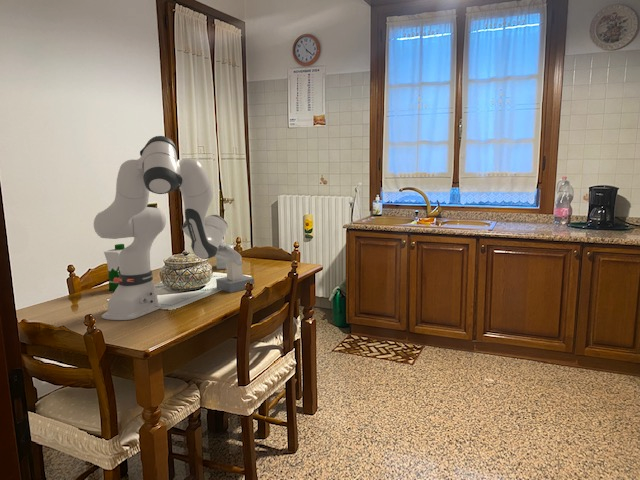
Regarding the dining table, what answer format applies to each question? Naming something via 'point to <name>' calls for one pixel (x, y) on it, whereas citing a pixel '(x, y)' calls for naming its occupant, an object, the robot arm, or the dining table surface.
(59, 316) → the dining table surface
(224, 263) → the light bulb box
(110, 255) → the milk carton
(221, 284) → the block
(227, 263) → the cream block
